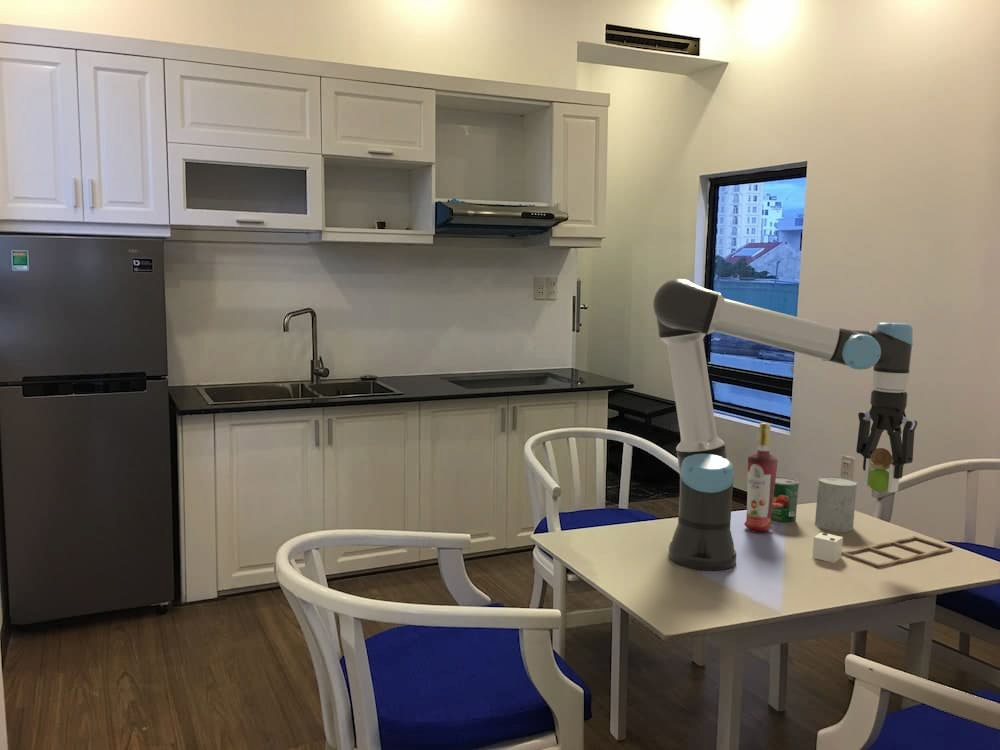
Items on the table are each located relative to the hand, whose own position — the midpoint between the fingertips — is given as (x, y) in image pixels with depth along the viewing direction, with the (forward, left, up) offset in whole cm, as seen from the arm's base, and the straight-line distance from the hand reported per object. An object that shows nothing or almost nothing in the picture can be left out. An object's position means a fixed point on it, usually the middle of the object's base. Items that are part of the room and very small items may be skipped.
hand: (880, 488), depth 188 cm
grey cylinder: (+12, +21, -17) cm, 30 cm away
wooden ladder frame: (+9, 0, -17) cm, 19 cm away
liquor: (-10, +27, -17) cm, 33 cm away
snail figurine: (0, 0, -1) cm, 1 cm away
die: (-11, +5, -17) cm, 20 cm away
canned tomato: (+3, +31, -17) cm, 36 cm away
